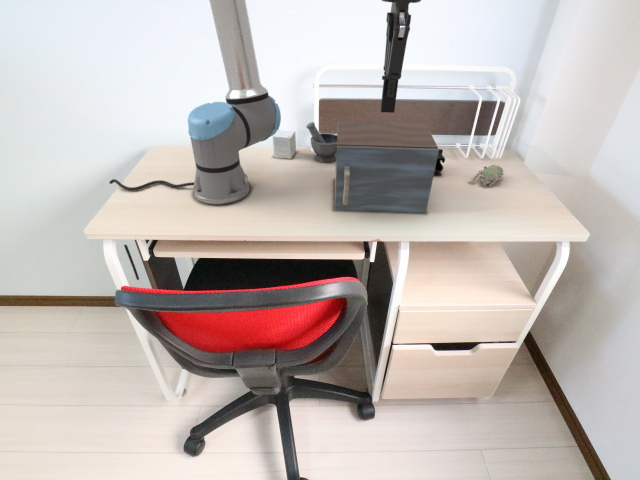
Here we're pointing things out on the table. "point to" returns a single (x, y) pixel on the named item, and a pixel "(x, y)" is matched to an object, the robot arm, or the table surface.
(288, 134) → the product box
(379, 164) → the cabinet door
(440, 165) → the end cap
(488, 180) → the crab figurine
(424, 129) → the cabinet
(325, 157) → the mortar and pestle
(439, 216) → the table surface
